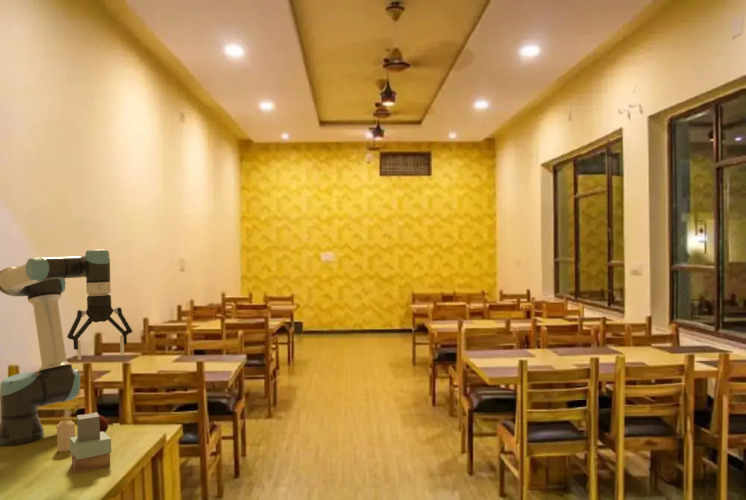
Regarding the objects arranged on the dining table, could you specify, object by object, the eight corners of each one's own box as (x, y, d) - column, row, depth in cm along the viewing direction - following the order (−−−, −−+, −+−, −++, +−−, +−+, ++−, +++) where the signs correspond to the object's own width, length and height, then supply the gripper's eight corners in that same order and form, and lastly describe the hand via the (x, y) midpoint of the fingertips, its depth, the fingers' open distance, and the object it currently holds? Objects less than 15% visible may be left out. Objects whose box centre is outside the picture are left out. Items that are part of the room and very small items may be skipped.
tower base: (71, 465, 197) (71, 451, 197) (105, 458, 202) (105, 444, 202) (75, 474, 189) (74, 459, 189) (110, 467, 194) (109, 453, 194)
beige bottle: (68, 452, 209) (67, 422, 209) (53, 451, 210) (52, 422, 210) (79, 447, 214) (77, 418, 214) (65, 446, 215) (64, 418, 215)
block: (77, 437, 197) (76, 415, 197) (98, 433, 200) (97, 412, 200) (79, 442, 191) (78, 419, 191) (100, 438, 194) (99, 416, 194)
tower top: (70, 451, 196) (69, 437, 196) (103, 444, 202) (103, 431, 202) (76, 459, 188) (76, 445, 188) (111, 452, 194) (110, 438, 194)
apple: (82, 436, 227) (81, 414, 227) (104, 431, 232) (103, 410, 232) (89, 440, 221) (88, 418, 221) (111, 435, 226) (110, 414, 226)
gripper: (59, 297, 201) (61, 362, 201) (139, 292, 214) (141, 353, 214) (57, 296, 207) (59, 359, 208) (135, 291, 221) (137, 350, 221)
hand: (101, 356), depth 211 cm, fingers open, 13 cm apart
